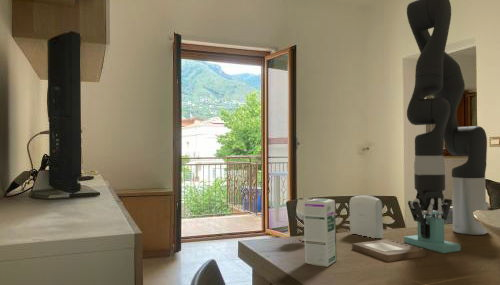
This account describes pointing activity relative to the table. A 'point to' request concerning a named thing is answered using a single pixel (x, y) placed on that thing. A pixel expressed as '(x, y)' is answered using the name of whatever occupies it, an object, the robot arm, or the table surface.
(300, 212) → the wineglass
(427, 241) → the stub
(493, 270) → the table surface
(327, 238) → the syrup box
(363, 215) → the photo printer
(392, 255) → the board
